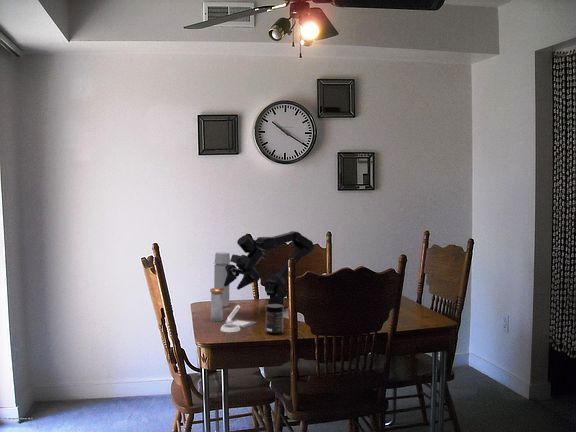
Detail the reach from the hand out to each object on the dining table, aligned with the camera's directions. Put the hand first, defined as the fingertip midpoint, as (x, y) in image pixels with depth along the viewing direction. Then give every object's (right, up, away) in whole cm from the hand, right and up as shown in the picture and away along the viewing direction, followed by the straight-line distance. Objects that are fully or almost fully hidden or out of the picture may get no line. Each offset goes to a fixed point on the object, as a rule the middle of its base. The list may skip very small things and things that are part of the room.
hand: (230, 287), depth 225 cm
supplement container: (+19, -14, -23) cm, 33 cm away
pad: (+5, -13, -10) cm, 18 cm away
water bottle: (-7, -12, +25) cm, 29 cm away
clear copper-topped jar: (-5, -13, -4) cm, 15 cm away
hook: (+2, -14, -20) cm, 24 cm away
